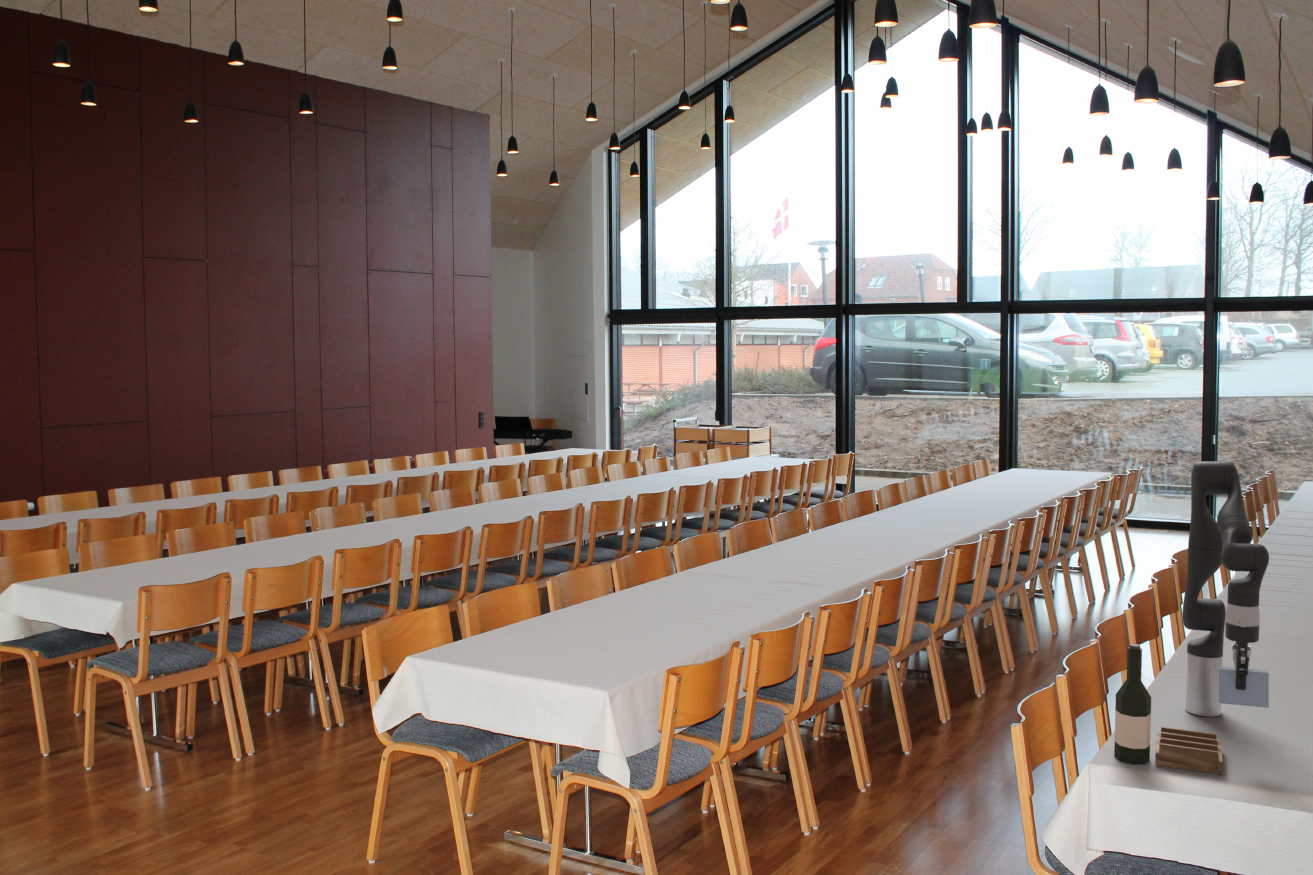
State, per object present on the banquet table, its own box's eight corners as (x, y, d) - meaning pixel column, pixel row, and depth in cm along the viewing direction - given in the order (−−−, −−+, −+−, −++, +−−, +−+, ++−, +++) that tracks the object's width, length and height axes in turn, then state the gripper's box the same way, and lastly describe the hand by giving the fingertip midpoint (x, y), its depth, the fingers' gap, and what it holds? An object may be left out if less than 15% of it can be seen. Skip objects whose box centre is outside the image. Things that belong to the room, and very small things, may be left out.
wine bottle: (1150, 766, 266) (1153, 650, 263) (1114, 762, 269) (1117, 647, 266) (1148, 754, 273) (1151, 642, 271) (1113, 750, 276) (1116, 639, 274)
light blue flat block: (1218, 700, 271) (1218, 665, 270) (1267, 704, 266) (1267, 669, 266) (1219, 703, 269) (1219, 668, 268) (1268, 707, 264) (1268, 672, 263)
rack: (1156, 743, 281) (1157, 724, 280) (1220, 752, 274) (1220, 732, 274) (1155, 764, 267) (1155, 744, 266) (1222, 774, 260) (1222, 754, 259)
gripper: (1224, 613, 274) (1222, 677, 275) (1227, 626, 261) (1224, 694, 263) (1257, 616, 271) (1255, 681, 272) (1261, 629, 258) (1259, 698, 260)
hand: (1240, 687), depth 268 cm, fingers closed on light blue flat block, 2 cm apart
